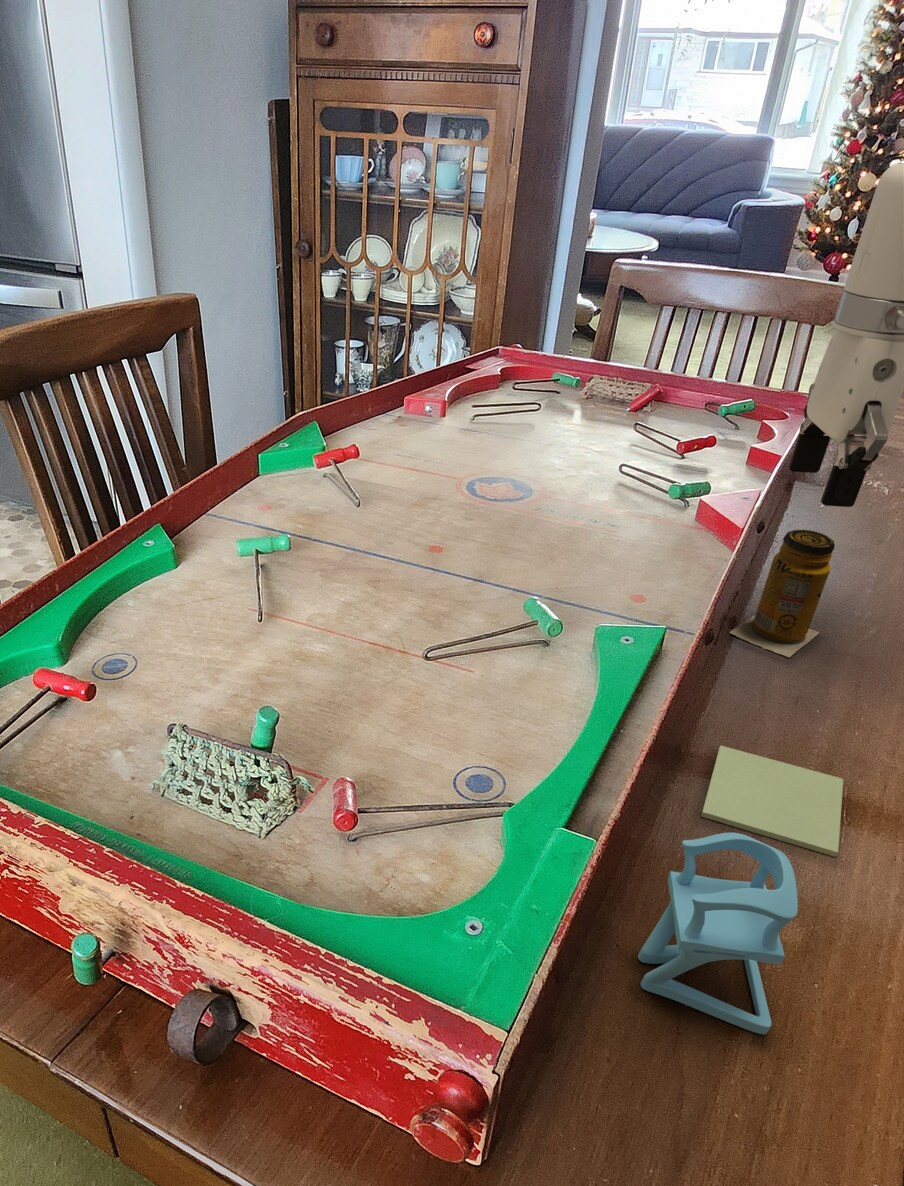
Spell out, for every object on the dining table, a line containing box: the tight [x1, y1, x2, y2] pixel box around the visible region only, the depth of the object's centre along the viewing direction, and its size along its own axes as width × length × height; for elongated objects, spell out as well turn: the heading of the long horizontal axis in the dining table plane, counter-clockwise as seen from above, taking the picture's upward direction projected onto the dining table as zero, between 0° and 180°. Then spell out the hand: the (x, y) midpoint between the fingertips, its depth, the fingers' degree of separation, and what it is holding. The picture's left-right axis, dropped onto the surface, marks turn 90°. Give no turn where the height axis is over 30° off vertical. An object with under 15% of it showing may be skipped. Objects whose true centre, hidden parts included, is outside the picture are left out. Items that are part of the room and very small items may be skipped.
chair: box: [637, 832, 799, 1036], centre depth 61 cm, size 8×8×12 cm
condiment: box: [729, 529, 835, 658], centre depth 103 cm, size 7×8×12 cm
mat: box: [700, 745, 844, 858], centre depth 81 cm, size 11×11×1 cm
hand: (819, 487), depth 96 cm, fingers open, 9 cm apart
